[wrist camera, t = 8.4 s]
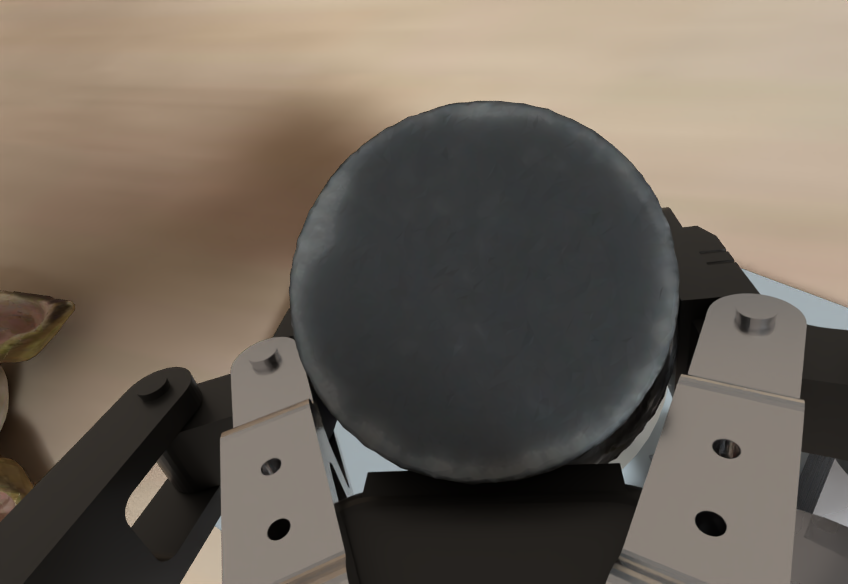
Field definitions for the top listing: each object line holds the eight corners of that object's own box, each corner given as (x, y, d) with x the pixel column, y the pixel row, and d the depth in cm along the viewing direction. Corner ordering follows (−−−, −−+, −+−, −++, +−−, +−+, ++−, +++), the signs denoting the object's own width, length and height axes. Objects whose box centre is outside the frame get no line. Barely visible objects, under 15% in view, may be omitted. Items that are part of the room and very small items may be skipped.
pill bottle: (391, 312, 18) (174, 186, 7) (553, 227, 17) (571, -45, 7) (472, 486, 16) (342, 650, 6) (654, 399, 16) (894, 399, 5)
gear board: (1041, 397, 17) (1088, 397, 15) (846, 924, 15) (877, 980, 14) (397, 153, 23) (388, 137, 22) (220, 506, 22) (197, 514, 21)
